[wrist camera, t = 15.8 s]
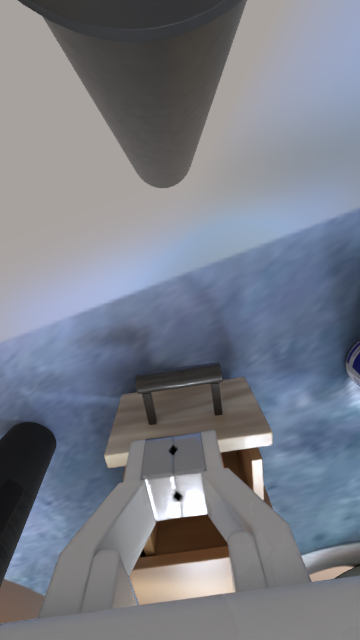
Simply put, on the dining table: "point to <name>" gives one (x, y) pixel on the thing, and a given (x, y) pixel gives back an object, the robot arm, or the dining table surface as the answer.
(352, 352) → the energy drink
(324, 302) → the dining table surface
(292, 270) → the dining table surface
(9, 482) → the drinking cup
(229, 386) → the drawer
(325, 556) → the dining table surface
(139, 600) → the cabinet
